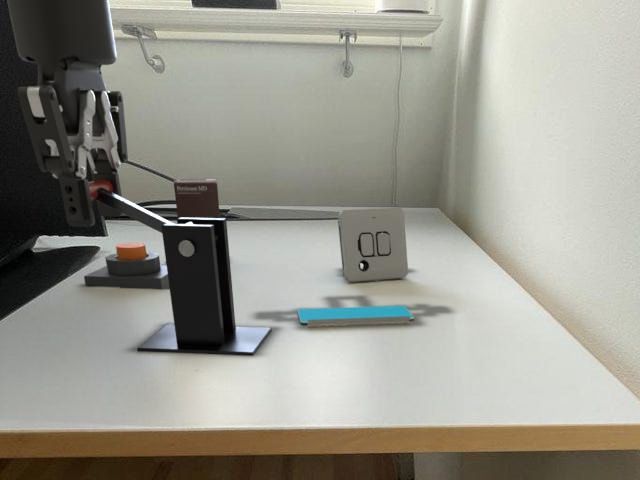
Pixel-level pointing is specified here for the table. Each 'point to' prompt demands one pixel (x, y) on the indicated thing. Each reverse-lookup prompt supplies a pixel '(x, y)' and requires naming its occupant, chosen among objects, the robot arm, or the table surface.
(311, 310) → the blue book
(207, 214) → the box
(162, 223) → the lever
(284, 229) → the table surface
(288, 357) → the table surface
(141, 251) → the button
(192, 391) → the table surface
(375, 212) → the electrical switch
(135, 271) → the button box
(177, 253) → the bracket
